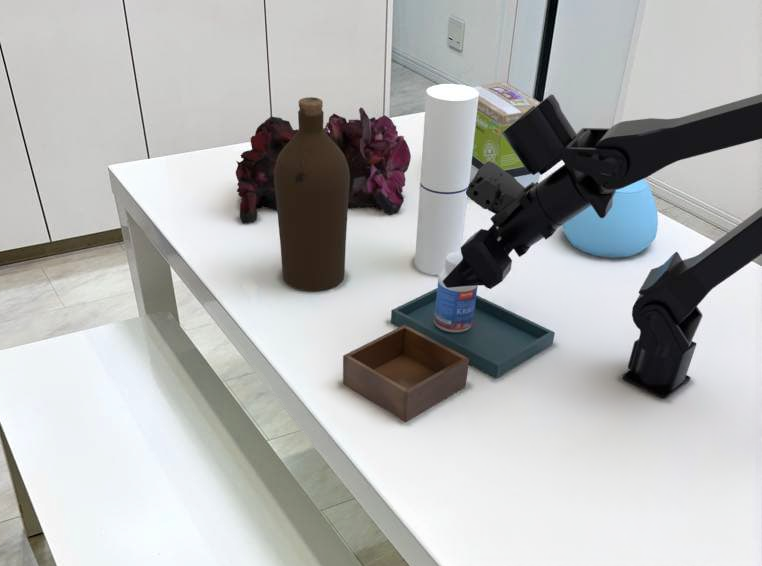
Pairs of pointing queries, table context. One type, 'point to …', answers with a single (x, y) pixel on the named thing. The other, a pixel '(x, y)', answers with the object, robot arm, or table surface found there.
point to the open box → (405, 372)
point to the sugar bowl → (617, 224)
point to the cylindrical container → (444, 173)
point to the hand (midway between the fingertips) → (457, 269)
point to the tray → (480, 333)
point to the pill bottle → (454, 301)
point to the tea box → (499, 129)
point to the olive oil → (312, 204)
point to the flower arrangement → (360, 147)
